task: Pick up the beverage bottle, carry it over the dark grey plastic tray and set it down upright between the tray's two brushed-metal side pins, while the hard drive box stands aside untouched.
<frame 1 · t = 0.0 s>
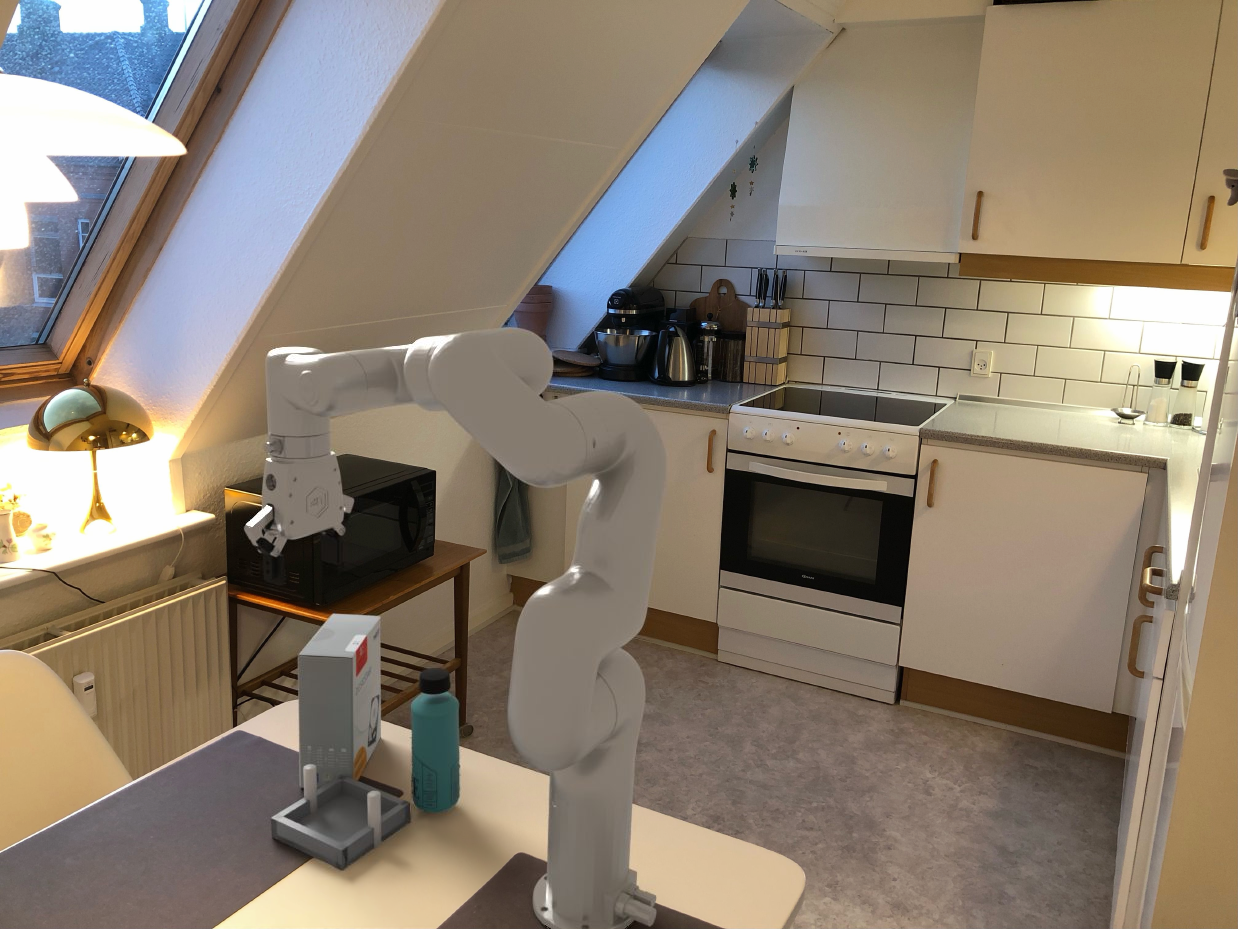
hand: (304, 572, 129), 31 cm above the table, tool pointing down, fingers open, 9 cm apart
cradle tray: (342, 829, 127), on the table
beverage bottle: (435, 811, 132), on the table
hard drive box: (343, 763, 143), on the table
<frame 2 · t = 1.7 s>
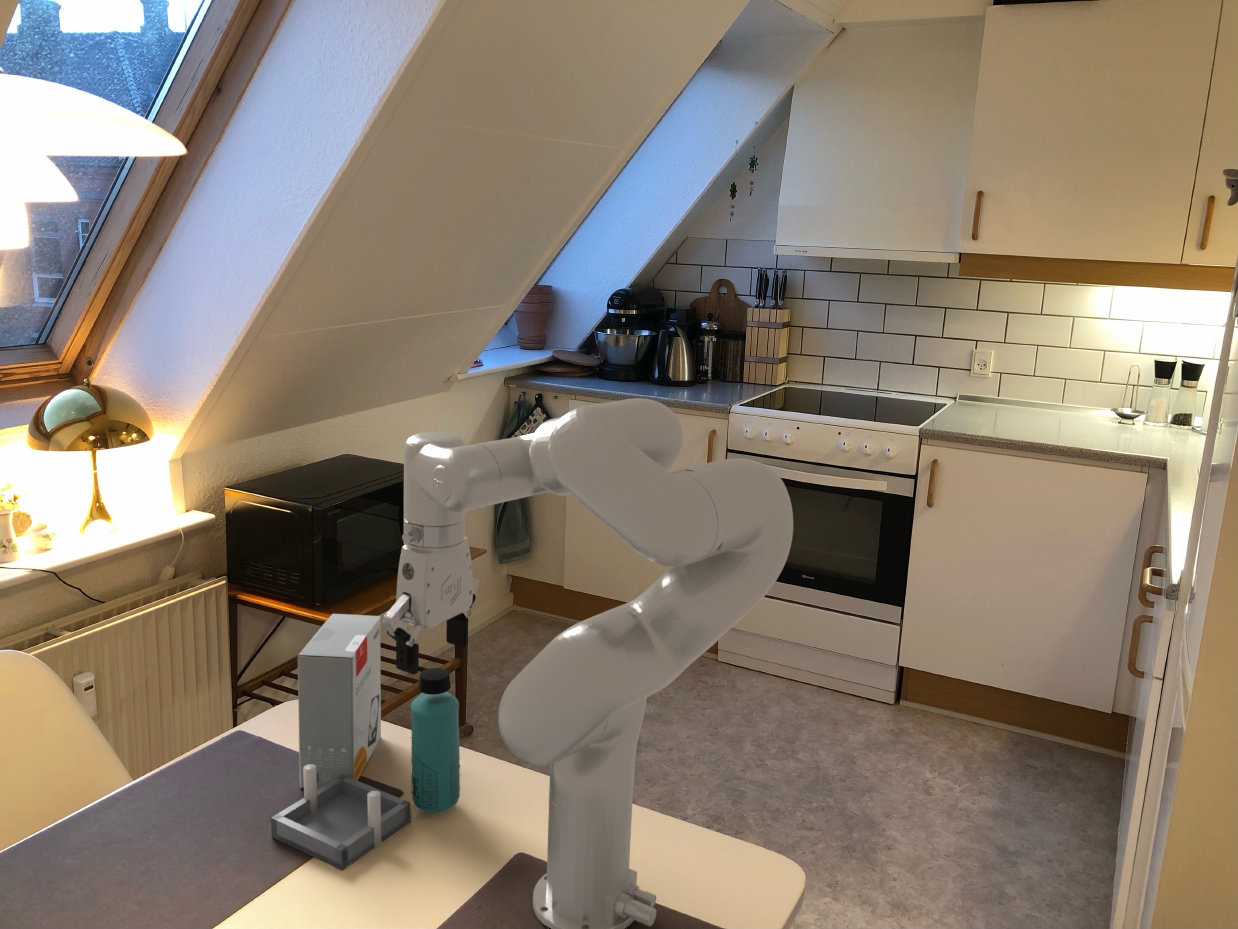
hand: (432, 657, 128), 22 cm above the table, tool pointing down, fingers open, 9 cm apart
nothing on the table moved.
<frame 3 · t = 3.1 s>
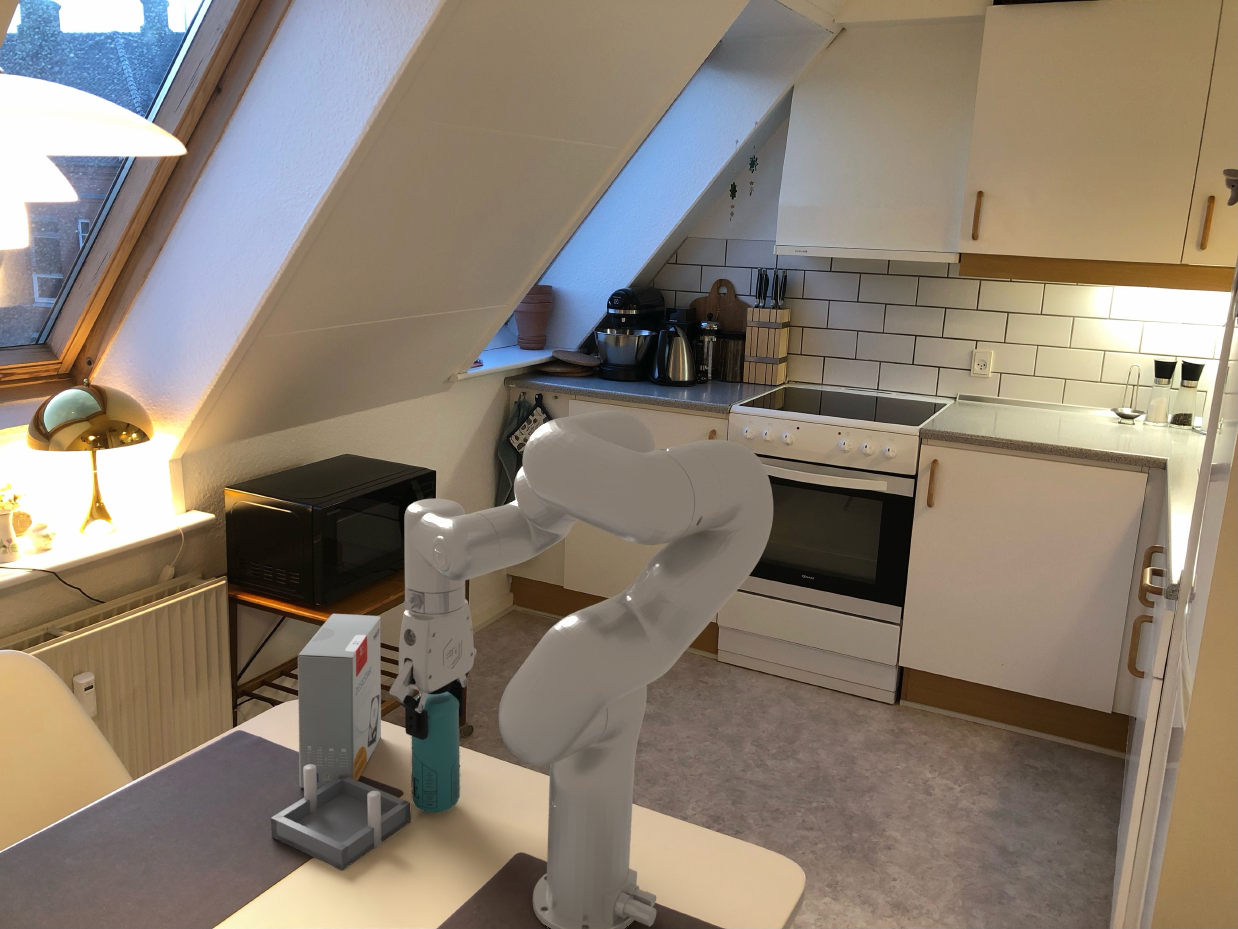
hand: (435, 723, 129), 13 cm above the table, tool pointing down, fingers closed on beverage bottle, 6 cm apart
beverage bottle: (435, 811, 132), on the table, touching gripper
everything else where it was.
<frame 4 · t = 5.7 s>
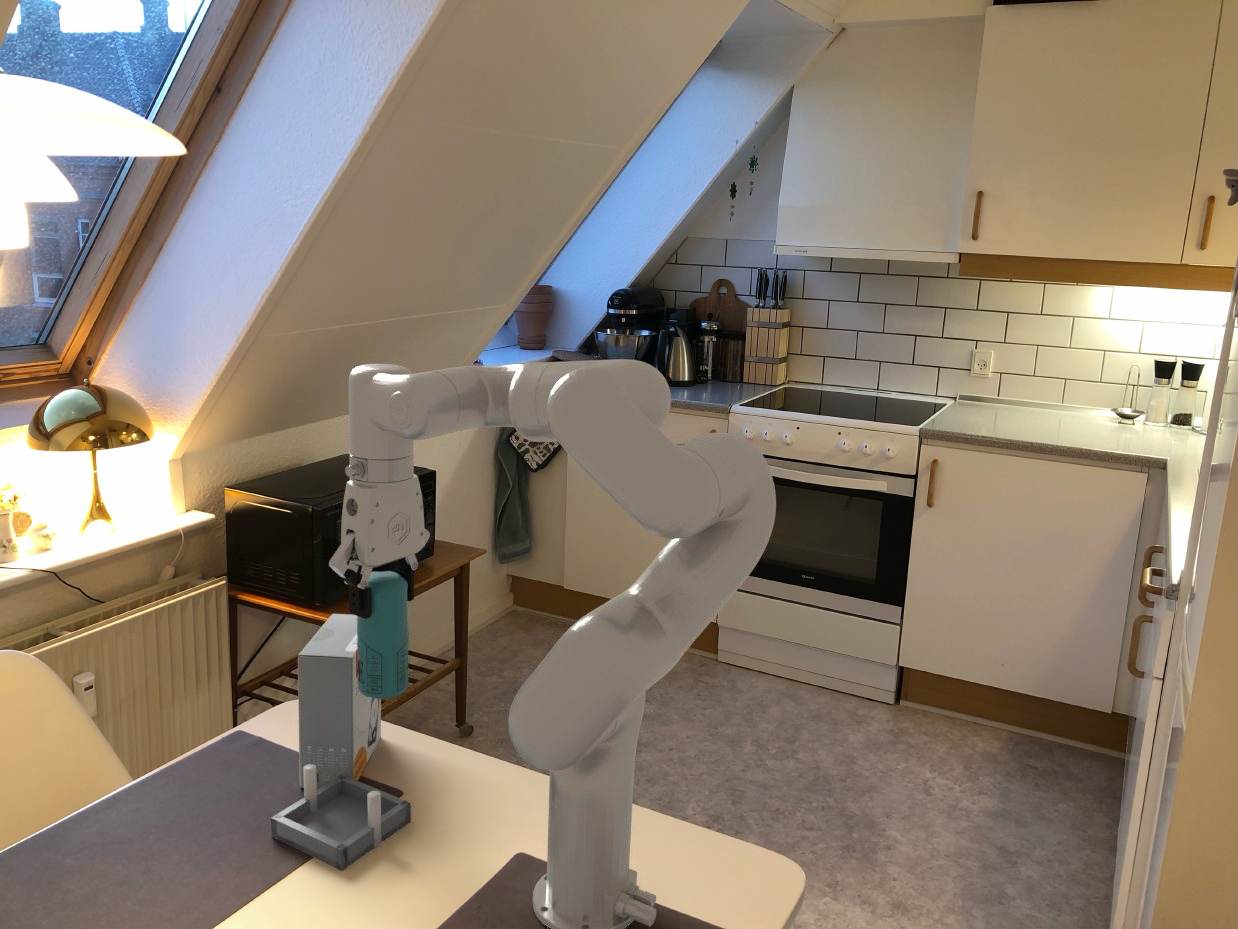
hand: (382, 605, 123), 30 cm above the table, tool pointing down, fingers closed on beverage bottle, 6 cm apart
beverage bottle: (382, 699, 126), point 17 cm above the table, touching gripper
everything else where it was.
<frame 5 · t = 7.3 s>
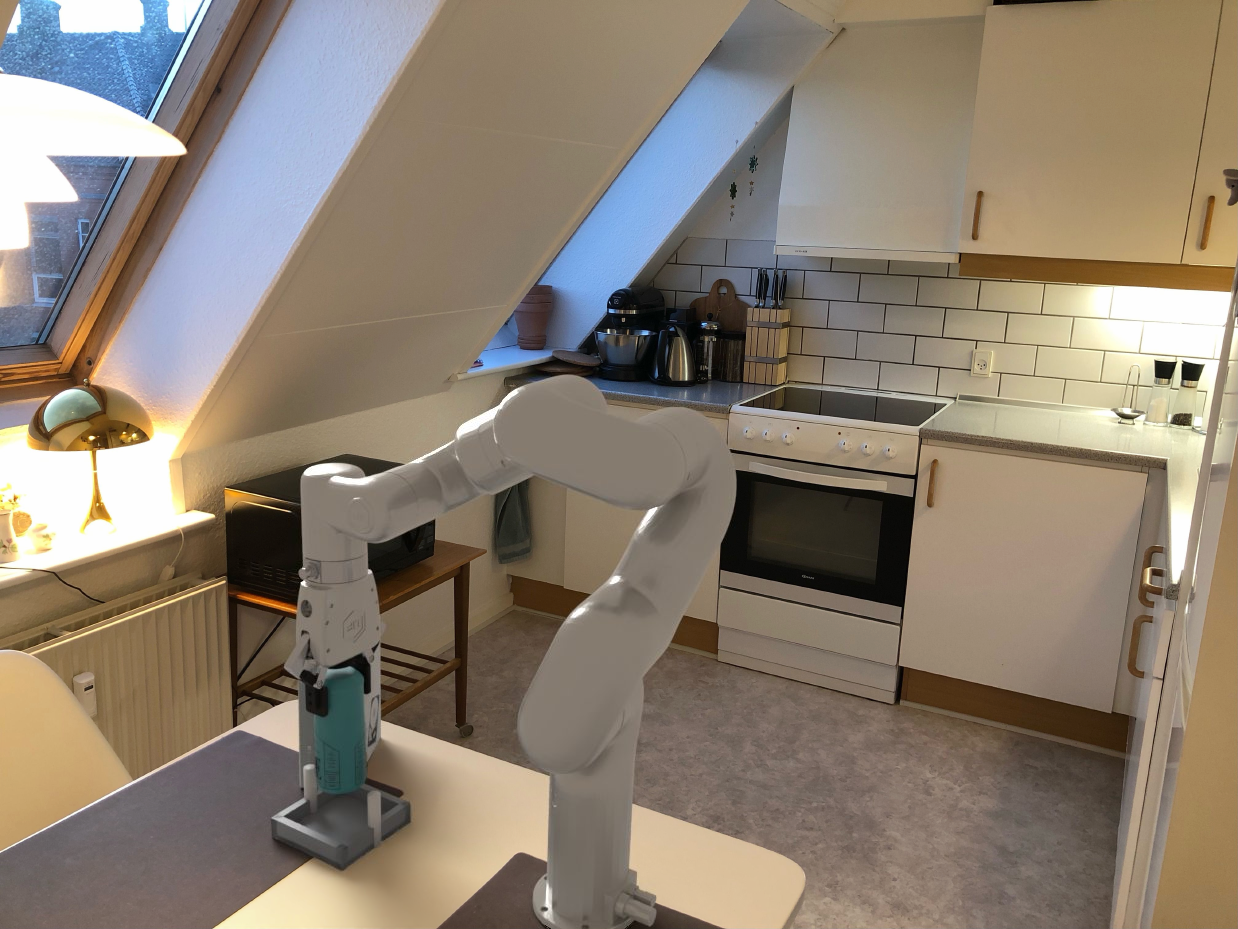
hand: (339, 701, 123), 18 cm above the table, tool pointing down, fingers closed on beverage bottle, 6 cm apart
beverage bottle: (341, 793, 126), point 5 cm above the table, touching gripper
everything else where it was.
when the fingers open (15 cm above the table, at t = 8.3 s): beverage bottle drops 2 cm, resting on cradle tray.
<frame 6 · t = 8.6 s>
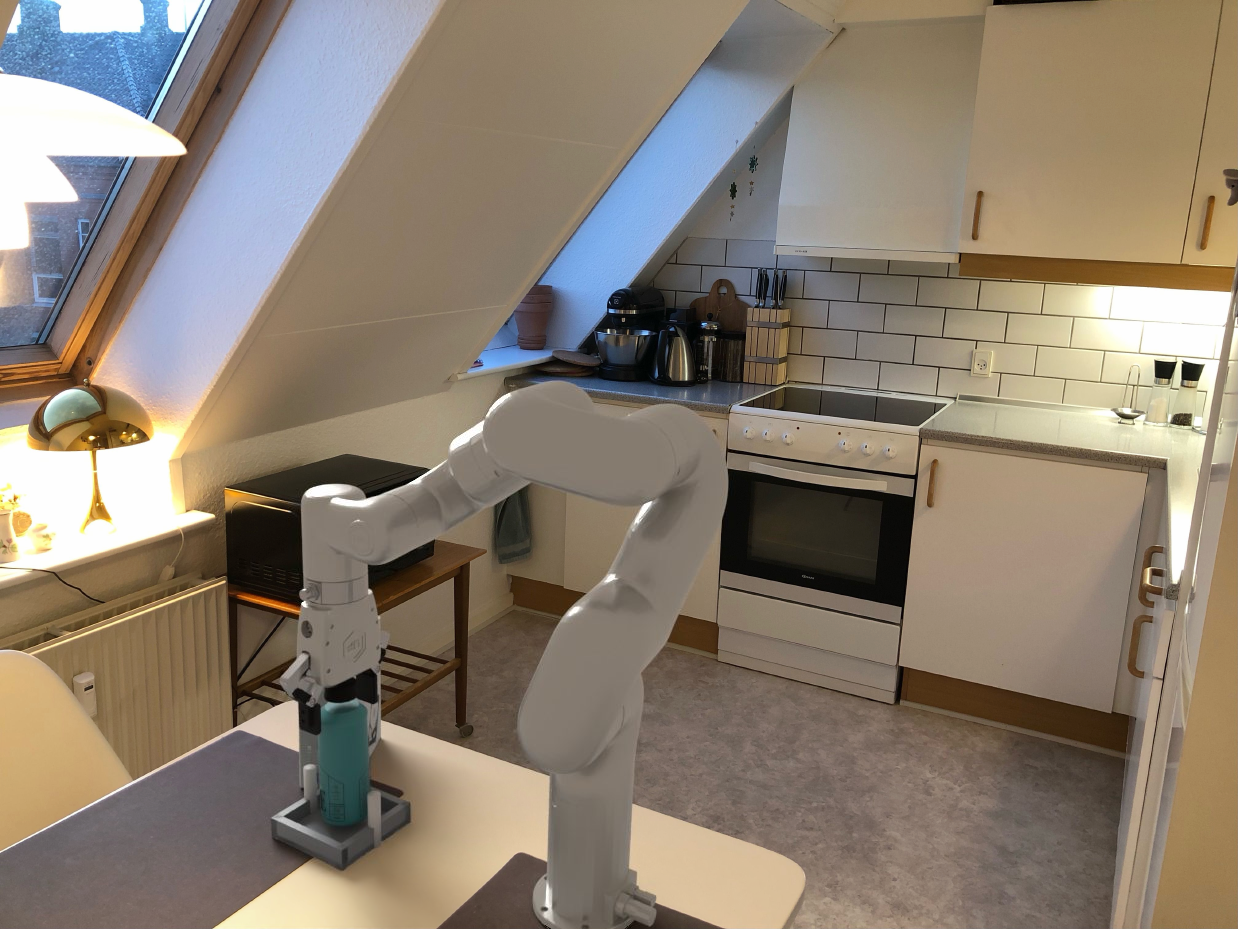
hand: (339, 715, 123), 16 cm above the table, tool pointing down, fingers open, 9 cm apart
beverage bottle: (345, 824, 127), point 1 cm above the table, touching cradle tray
everything else where it was.
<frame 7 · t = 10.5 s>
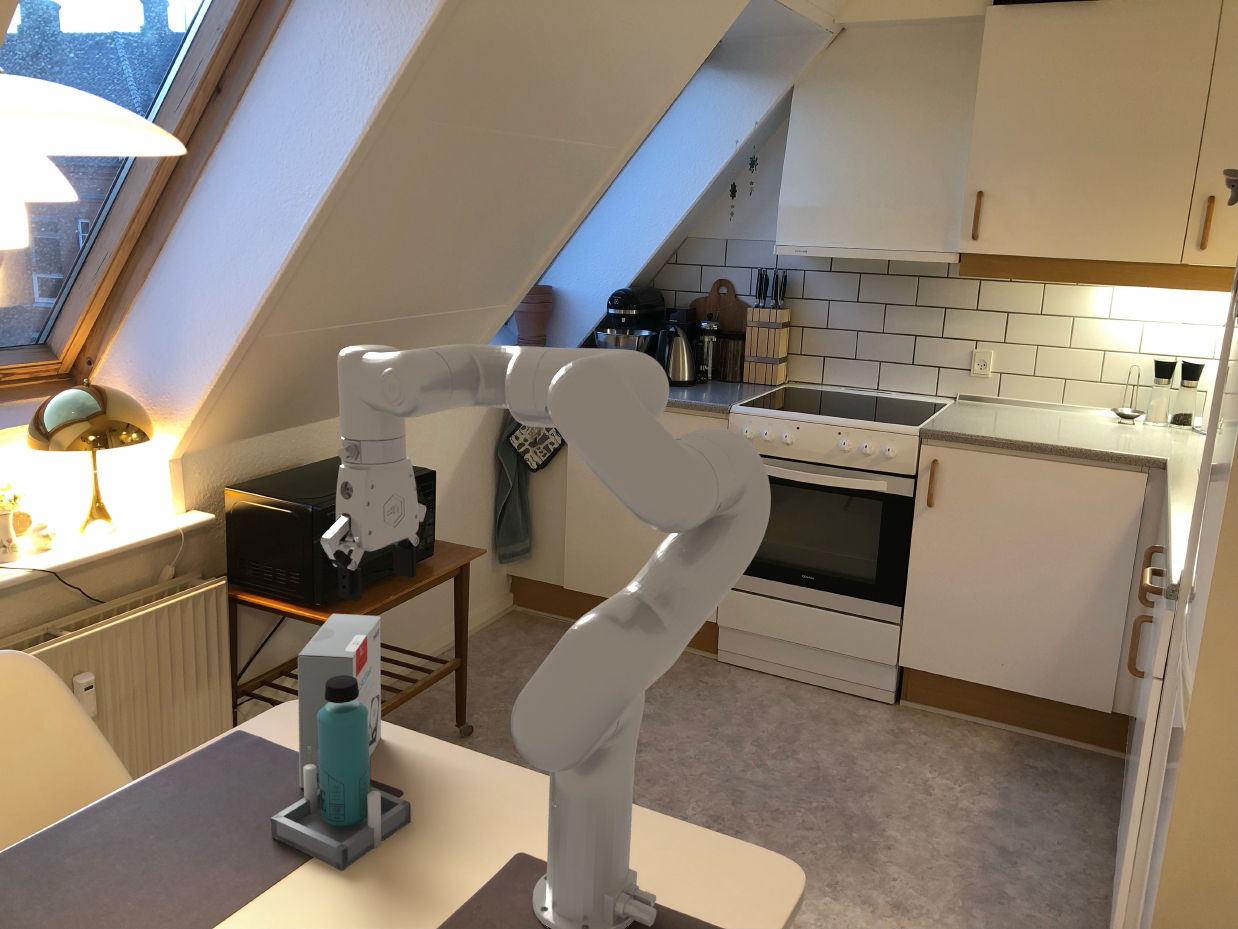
hand: (378, 586, 121), 33 cm above the table, tool pointing down, fingers open, 9 cm apart
nothing on the table moved.
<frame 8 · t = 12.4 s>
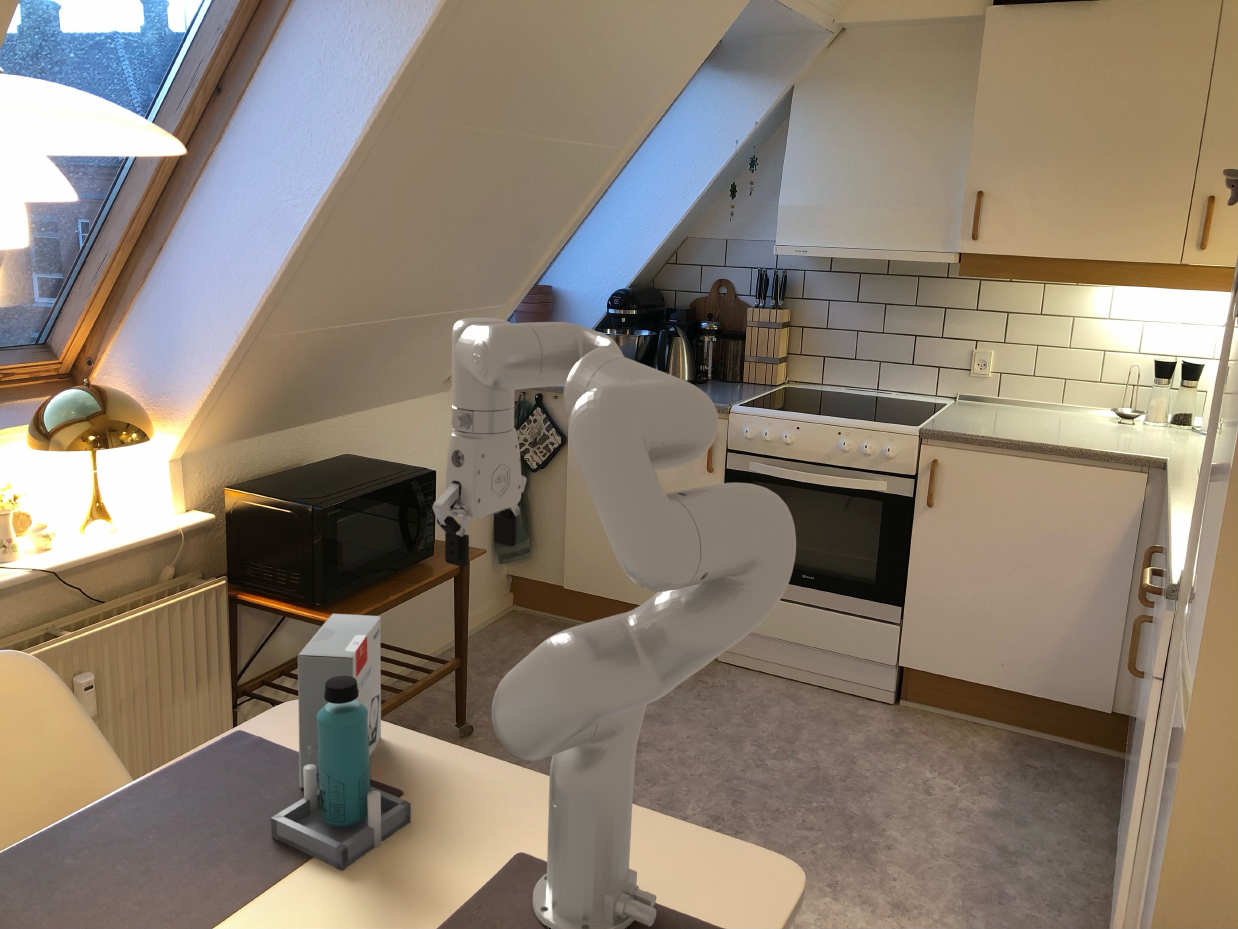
hand: (481, 554, 124), 36 cm above the table, tool pointing down, fingers open, 9 cm apart
nothing on the table moved.
at the end: beverage bottle 0.4 cm off-centre on the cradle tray, point 0.6 cm above the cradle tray's base; beverage bottle tilted 0°; the gripper is holding nothing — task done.
